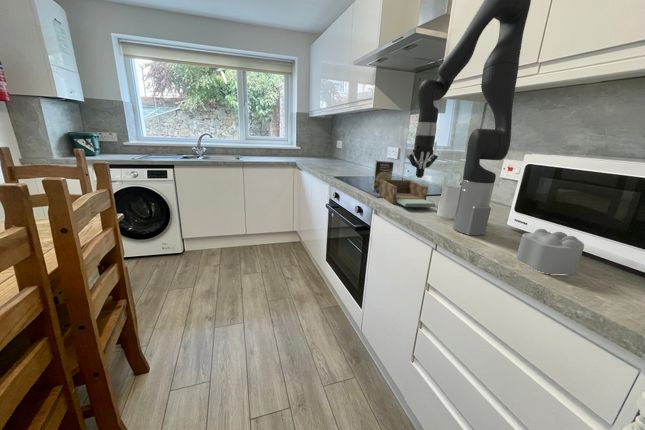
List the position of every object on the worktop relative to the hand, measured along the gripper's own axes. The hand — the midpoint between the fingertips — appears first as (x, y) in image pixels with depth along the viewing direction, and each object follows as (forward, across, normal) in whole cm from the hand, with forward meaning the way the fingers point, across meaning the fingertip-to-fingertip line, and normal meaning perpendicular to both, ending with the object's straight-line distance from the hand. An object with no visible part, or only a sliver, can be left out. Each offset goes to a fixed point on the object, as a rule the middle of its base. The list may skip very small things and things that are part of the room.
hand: (419, 177), depth 116 cm
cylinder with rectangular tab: (+14, -9, +11) cm, 20 cm away
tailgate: (+11, -1, -5) cm, 13 cm away
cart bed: (+13, -1, -15) cm, 20 cm away
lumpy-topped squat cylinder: (+14, -9, +53) cm, 56 cm away
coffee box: (+13, +2, -34) cm, 37 cm away
